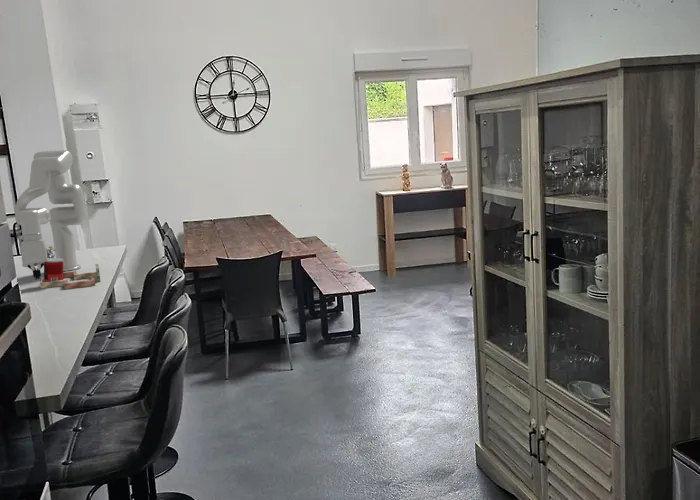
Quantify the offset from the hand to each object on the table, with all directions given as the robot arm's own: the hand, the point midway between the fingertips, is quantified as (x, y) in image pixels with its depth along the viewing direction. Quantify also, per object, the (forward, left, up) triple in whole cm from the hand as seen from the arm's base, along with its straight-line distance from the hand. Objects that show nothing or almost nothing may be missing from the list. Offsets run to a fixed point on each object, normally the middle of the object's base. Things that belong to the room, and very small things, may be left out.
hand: (37, 278), depth 288 cm
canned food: (+5, +4, -3) cm, 7 cm away
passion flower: (-37, +57, -4) cm, 68 cm away
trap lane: (+11, +8, -3) cm, 14 cm away
